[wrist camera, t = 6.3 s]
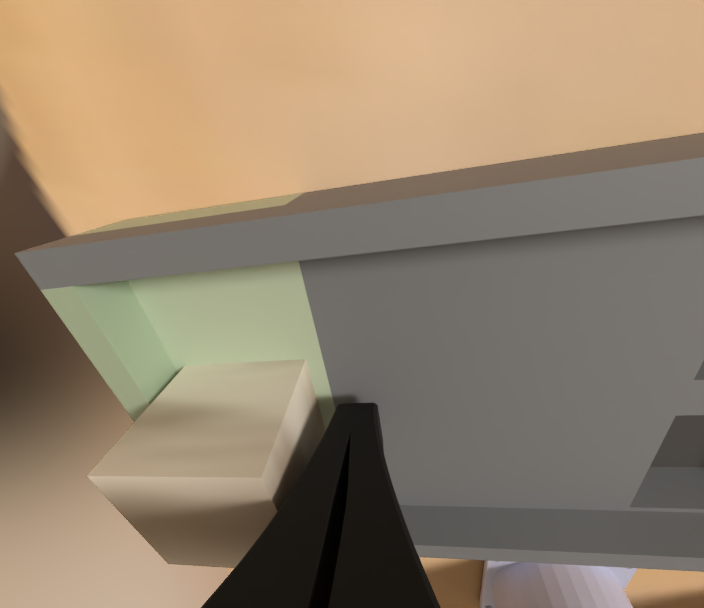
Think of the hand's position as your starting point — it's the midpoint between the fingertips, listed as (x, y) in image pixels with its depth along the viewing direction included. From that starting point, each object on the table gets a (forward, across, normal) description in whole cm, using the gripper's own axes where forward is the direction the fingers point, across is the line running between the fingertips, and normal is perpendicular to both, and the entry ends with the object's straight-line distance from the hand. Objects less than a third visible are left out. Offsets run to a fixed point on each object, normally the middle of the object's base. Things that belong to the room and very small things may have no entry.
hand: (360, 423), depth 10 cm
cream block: (+1, +4, 0) cm, 4 cm away
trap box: (+3, -4, 0) cm, 5 cm away
